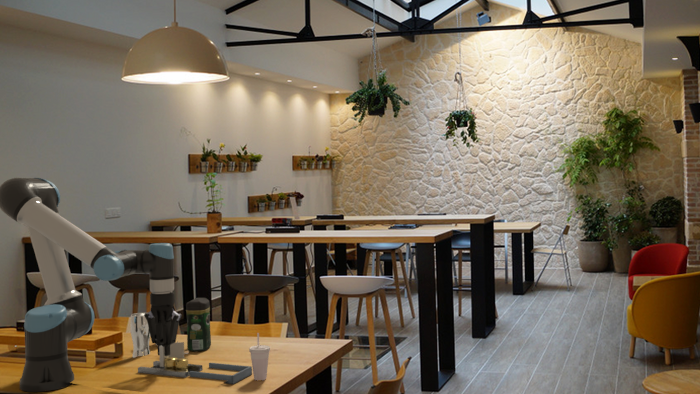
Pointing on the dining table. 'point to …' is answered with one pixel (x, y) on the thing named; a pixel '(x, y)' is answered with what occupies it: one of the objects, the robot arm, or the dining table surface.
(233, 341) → the dining table surface
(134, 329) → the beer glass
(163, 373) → the slot plate
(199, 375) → the blue-grey rectangular frame
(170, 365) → the gold rounded block
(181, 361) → the gold rounded cube
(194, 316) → the coffee jar
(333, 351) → the dining table surface
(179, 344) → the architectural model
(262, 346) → the smoothie
